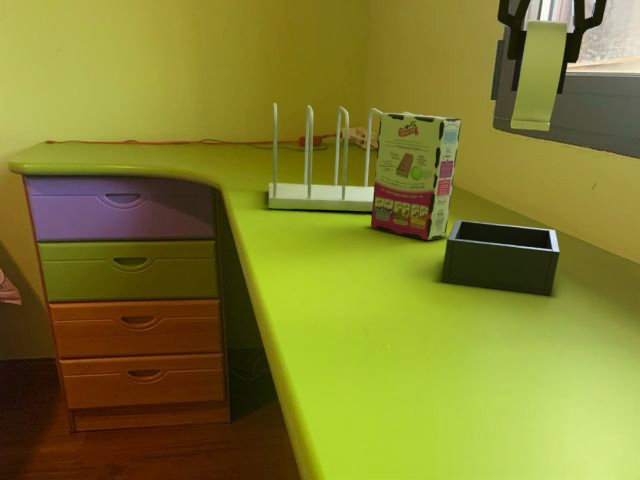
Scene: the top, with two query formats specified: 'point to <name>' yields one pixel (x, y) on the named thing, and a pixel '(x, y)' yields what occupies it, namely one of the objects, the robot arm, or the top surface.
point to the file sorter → (322, 194)
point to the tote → (501, 257)
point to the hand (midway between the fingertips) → (535, 91)
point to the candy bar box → (414, 174)
